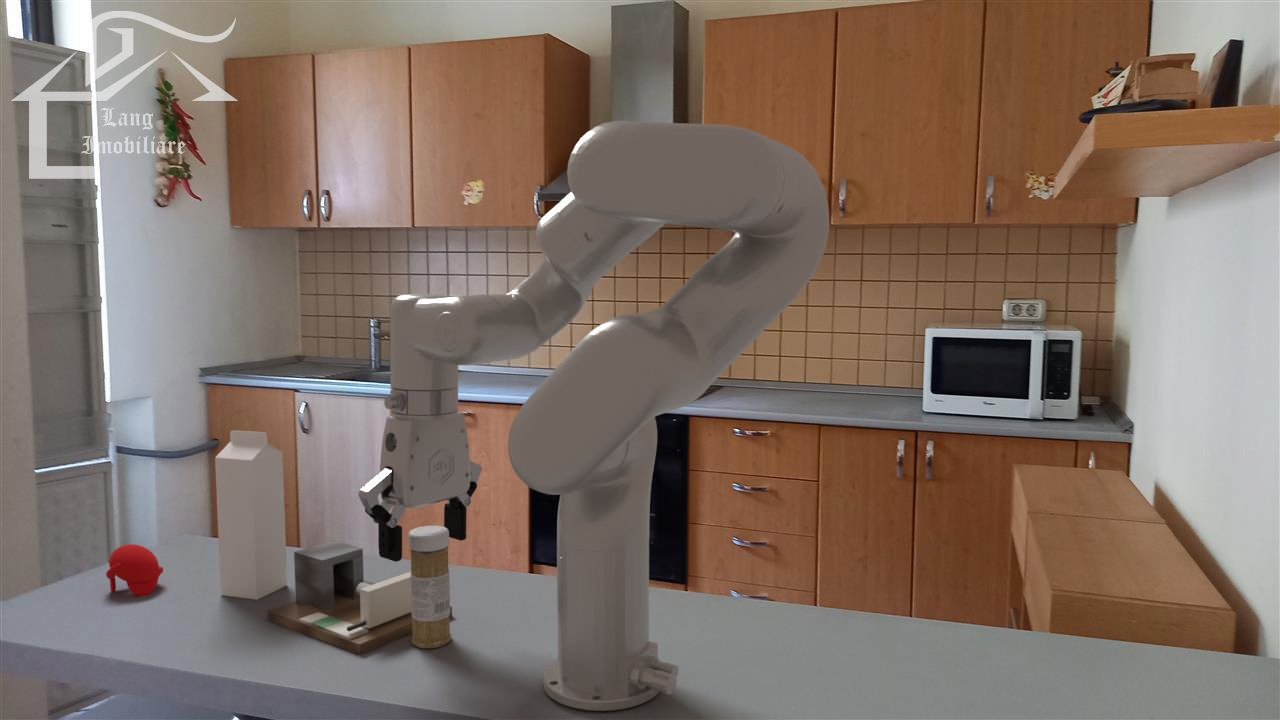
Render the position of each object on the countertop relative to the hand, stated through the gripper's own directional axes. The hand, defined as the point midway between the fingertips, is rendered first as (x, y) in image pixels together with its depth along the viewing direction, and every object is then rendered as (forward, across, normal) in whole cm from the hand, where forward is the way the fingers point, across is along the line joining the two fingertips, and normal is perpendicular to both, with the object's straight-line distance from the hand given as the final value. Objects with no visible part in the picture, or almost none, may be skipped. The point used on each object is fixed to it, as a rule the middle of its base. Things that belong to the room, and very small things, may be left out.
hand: (423, 547), depth 101 cm
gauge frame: (+12, 0, +12) cm, 17 cm away
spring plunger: (+10, -1, +8) cm, 13 cm away
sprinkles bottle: (+11, 0, -1) cm, 11 cm away
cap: (+13, -11, +46) cm, 49 cm away
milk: (+12, -2, +32) cm, 34 cm away
